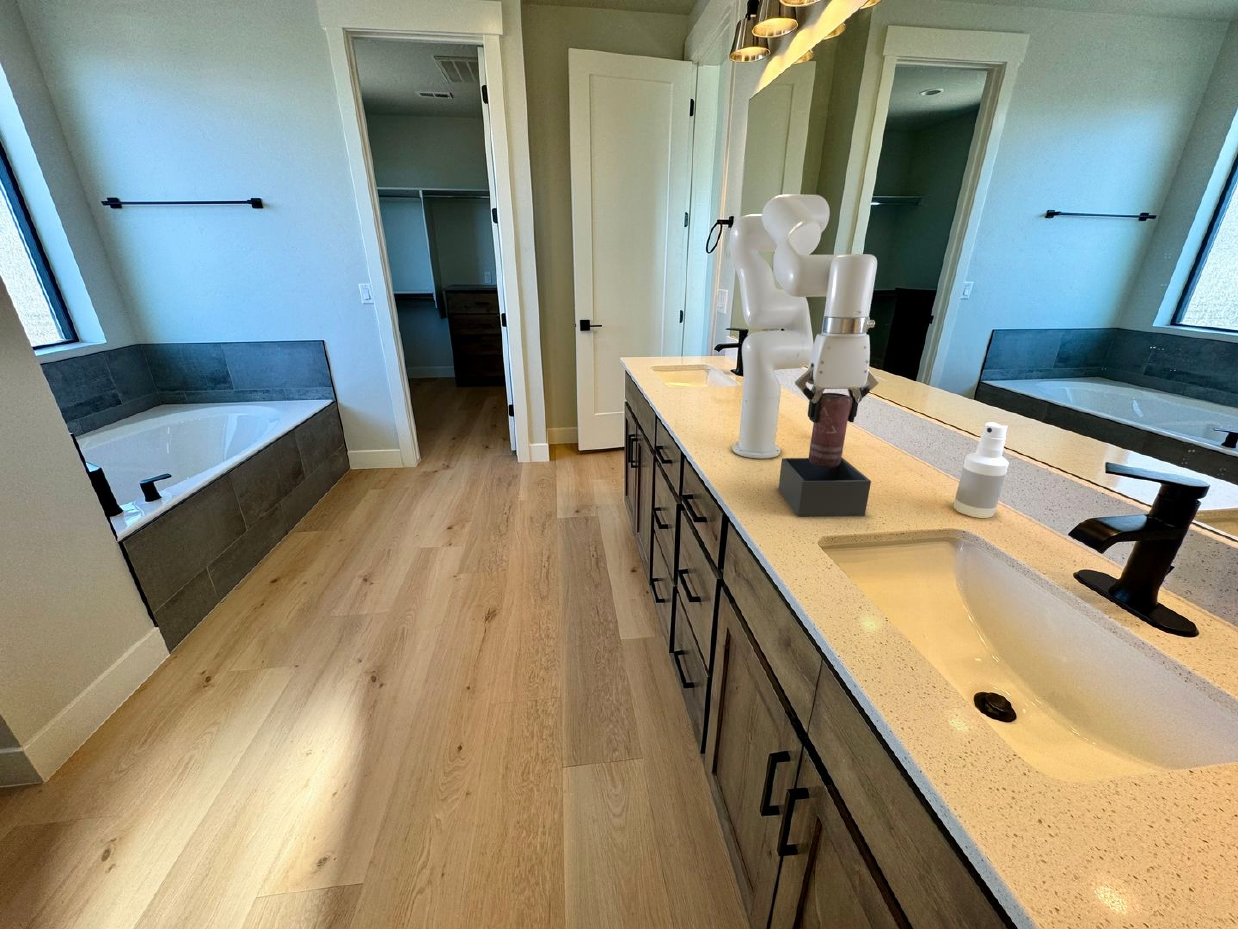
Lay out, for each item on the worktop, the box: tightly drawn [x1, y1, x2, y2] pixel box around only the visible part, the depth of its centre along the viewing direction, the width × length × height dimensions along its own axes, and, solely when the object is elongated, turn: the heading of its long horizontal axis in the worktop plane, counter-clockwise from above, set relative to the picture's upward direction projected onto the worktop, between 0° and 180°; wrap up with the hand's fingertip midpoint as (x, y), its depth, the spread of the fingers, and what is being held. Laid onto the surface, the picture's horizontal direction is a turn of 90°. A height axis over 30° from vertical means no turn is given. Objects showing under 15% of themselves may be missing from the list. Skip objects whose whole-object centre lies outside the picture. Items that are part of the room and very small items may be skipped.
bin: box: [778, 456, 872, 518], centre depth 102 cm, size 13×13×8 cm
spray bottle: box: [952, 421, 1010, 519], centre depth 95 cm, size 7×7×18 cm
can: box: [808, 392, 852, 467], centre depth 98 cm, size 6×6×14 cm
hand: (831, 420), depth 97 cm, fingers closed on can, 6 cm apart
